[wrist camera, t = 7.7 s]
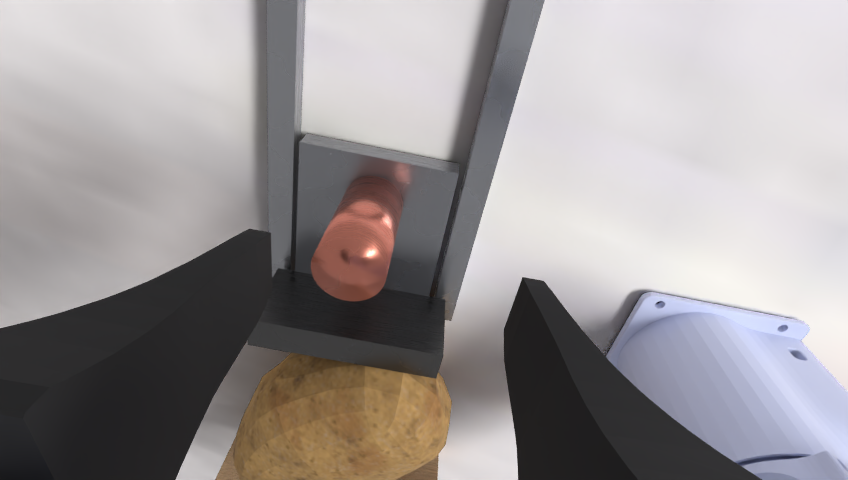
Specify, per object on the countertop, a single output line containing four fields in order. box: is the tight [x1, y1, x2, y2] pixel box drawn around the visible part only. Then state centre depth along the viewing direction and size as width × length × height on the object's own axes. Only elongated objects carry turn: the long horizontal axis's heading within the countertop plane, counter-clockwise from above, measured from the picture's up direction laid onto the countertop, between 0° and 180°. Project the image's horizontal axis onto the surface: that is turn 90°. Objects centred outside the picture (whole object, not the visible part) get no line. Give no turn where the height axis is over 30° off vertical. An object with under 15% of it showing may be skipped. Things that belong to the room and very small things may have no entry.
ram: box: [248, 133, 459, 379], centre depth 20 cm, size 9×9×7 cm
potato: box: [233, 353, 452, 480], centre depth 25 cm, size 10×14×8 cm
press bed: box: [215, 0, 544, 480], centre depth 22 cm, size 14×34×6 cm, turn 170°
